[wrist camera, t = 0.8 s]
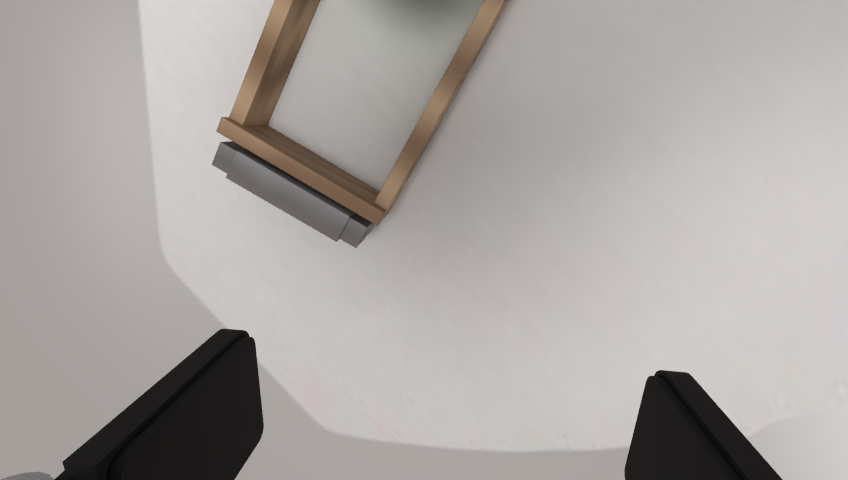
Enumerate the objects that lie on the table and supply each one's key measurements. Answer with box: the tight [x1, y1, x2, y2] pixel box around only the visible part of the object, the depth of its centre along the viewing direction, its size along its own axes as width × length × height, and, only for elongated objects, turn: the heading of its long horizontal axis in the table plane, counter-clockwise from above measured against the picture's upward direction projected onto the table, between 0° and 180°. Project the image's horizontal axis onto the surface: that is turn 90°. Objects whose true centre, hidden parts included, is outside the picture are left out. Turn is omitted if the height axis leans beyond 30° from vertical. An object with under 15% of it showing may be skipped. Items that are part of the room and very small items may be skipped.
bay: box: [212, 0, 508, 248], centre depth 30 cm, size 28×14×5 cm, turn 150°
